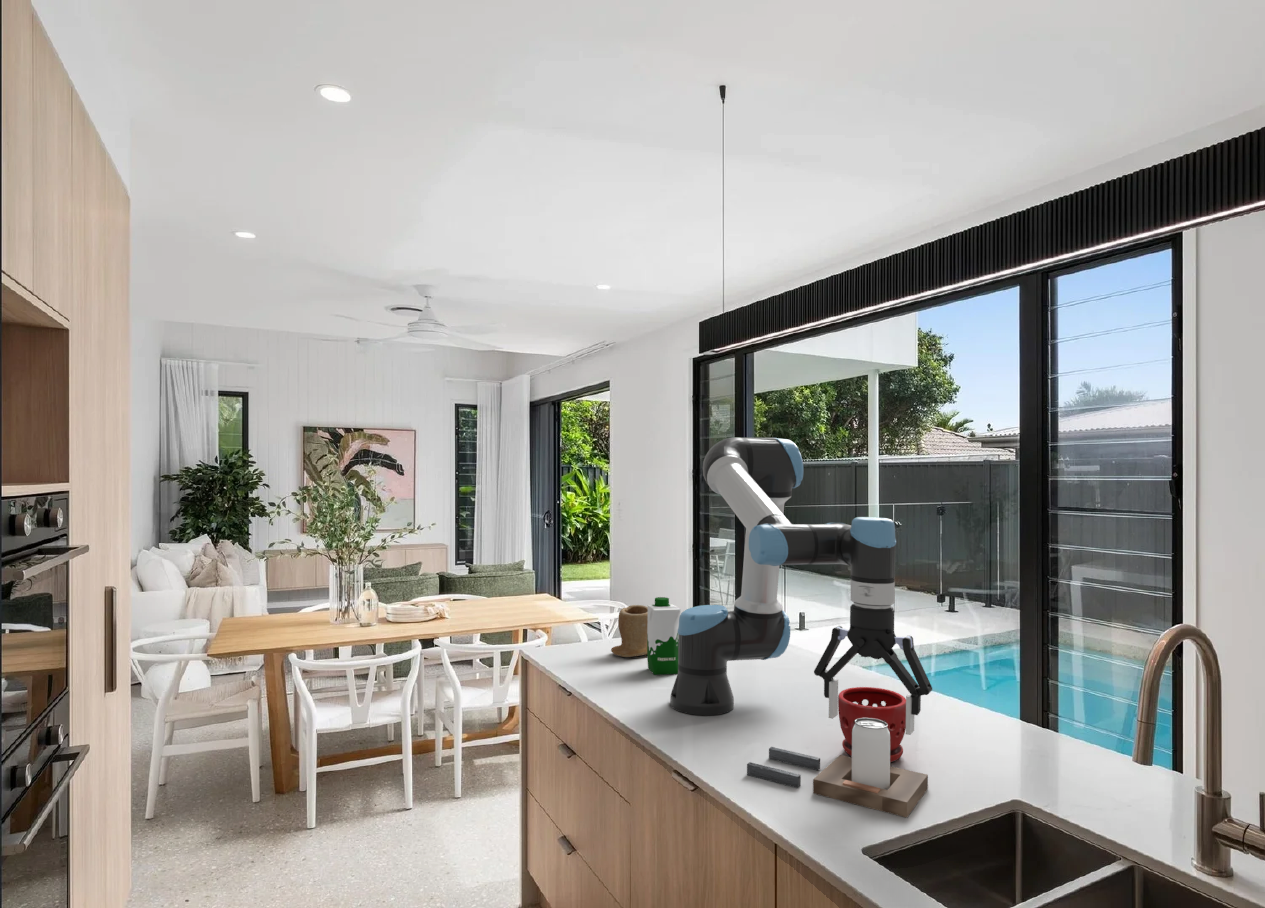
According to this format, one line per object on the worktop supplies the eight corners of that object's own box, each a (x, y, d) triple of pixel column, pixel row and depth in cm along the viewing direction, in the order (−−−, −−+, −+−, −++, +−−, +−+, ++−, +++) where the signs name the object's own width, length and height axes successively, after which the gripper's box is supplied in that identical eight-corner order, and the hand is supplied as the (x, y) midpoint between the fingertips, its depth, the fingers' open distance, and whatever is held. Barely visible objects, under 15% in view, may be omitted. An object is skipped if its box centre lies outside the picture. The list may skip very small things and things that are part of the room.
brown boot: (625, 662, 223) (626, 611, 223) (606, 653, 233) (607, 604, 234) (669, 656, 231) (669, 607, 231) (648, 648, 241) (649, 600, 241)
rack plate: (813, 793, 134) (813, 777, 134) (840, 767, 146) (840, 753, 146) (906, 817, 125) (907, 800, 125) (927, 788, 137) (927, 772, 137)
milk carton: (673, 666, 219) (674, 596, 220) (683, 674, 211) (683, 601, 211) (644, 667, 217) (644, 597, 218) (652, 676, 209) (653, 602, 209)
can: (891, 800, 132) (892, 730, 132) (852, 796, 133) (853, 727, 133) (887, 785, 138) (888, 718, 138) (850, 781, 139) (850, 715, 140)
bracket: (746, 774, 142) (746, 763, 142) (771, 756, 151) (771, 746, 151) (798, 788, 136) (798, 776, 136) (820, 768, 145) (820, 757, 145)
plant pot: (831, 743, 159) (831, 685, 159) (894, 744, 159) (895, 686, 159) (846, 767, 146) (847, 704, 146) (916, 769, 146) (916, 706, 146)
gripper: (797, 599, 140) (795, 715, 140) (941, 617, 126) (939, 746, 126) (812, 593, 146) (811, 704, 146) (951, 610, 132) (949, 733, 132)
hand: (870, 724), depth 136 cm, fingers open, 13 cm apart
